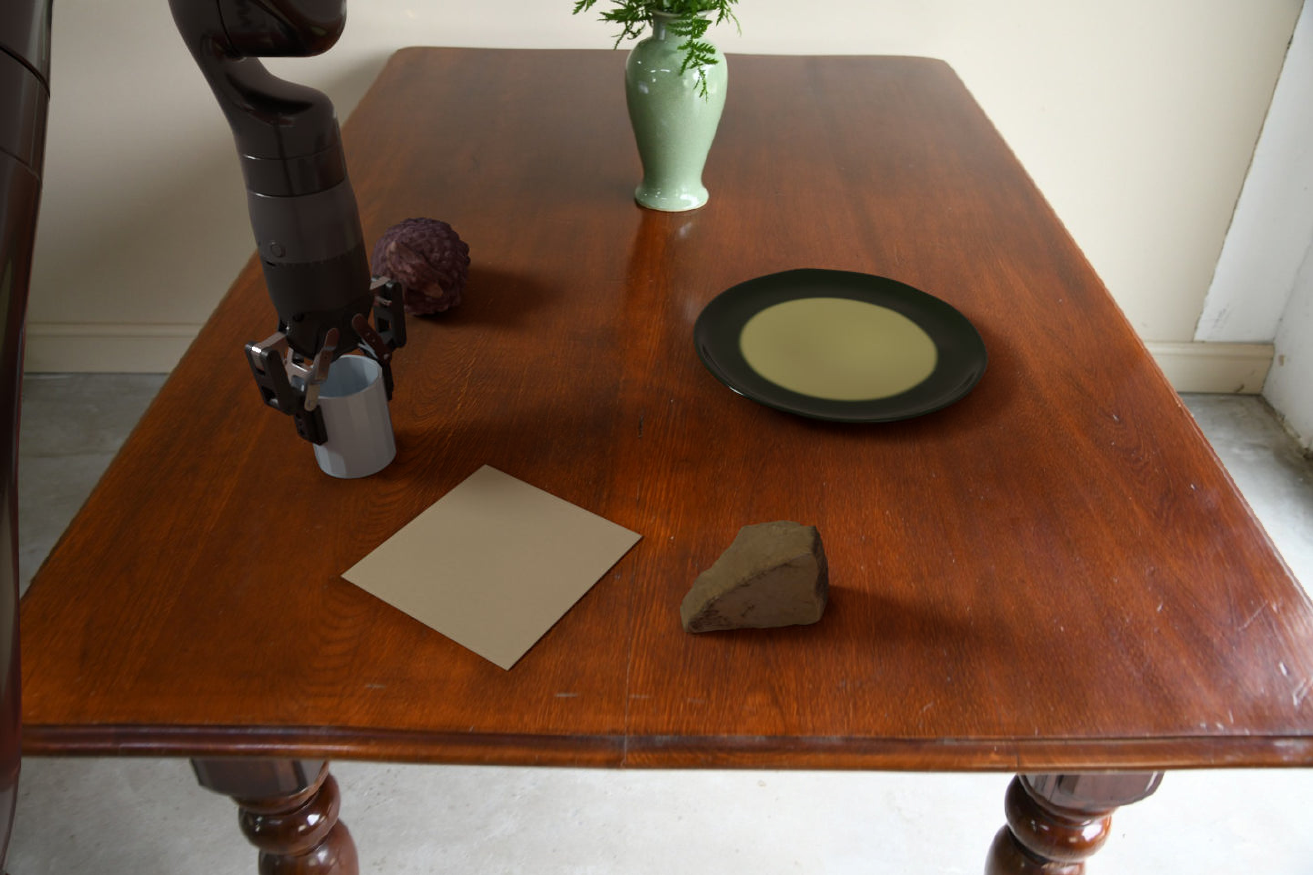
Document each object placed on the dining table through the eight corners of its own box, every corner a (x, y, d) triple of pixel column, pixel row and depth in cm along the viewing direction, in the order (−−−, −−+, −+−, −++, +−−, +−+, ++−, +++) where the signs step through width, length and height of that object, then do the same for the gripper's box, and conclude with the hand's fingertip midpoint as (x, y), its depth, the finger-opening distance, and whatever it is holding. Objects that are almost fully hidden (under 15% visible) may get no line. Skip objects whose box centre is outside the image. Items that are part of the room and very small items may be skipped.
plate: (660, 305, 108) (660, 284, 107) (903, 274, 114) (907, 254, 112) (744, 464, 86) (746, 441, 85) (1039, 417, 92) (1046, 394, 91)
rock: (655, 638, 68) (805, 660, 65) (666, 509, 68) (816, 524, 65) (701, 617, 78) (832, 635, 75) (710, 505, 78) (842, 518, 75)
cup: (355, 488, 84) (337, 408, 79) (301, 461, 87) (281, 382, 82) (412, 448, 88) (398, 370, 83) (359, 423, 91) (342, 346, 86)
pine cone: (354, 274, 113) (387, 189, 111) (439, 306, 117) (472, 225, 115) (360, 310, 97) (398, 212, 96) (458, 346, 101) (496, 253, 99)
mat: (507, 670, 69) (507, 669, 69) (341, 576, 76) (340, 575, 76) (642, 536, 79) (642, 535, 79) (485, 465, 86) (485, 464, 86)
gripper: (347, 191, 82) (380, 367, 92) (193, 259, 72) (249, 448, 82) (416, 213, 78) (442, 393, 88) (264, 288, 69) (313, 481, 79)
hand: (349, 419), depth 85 cm, fingers closed on cup, 6 cm apart
